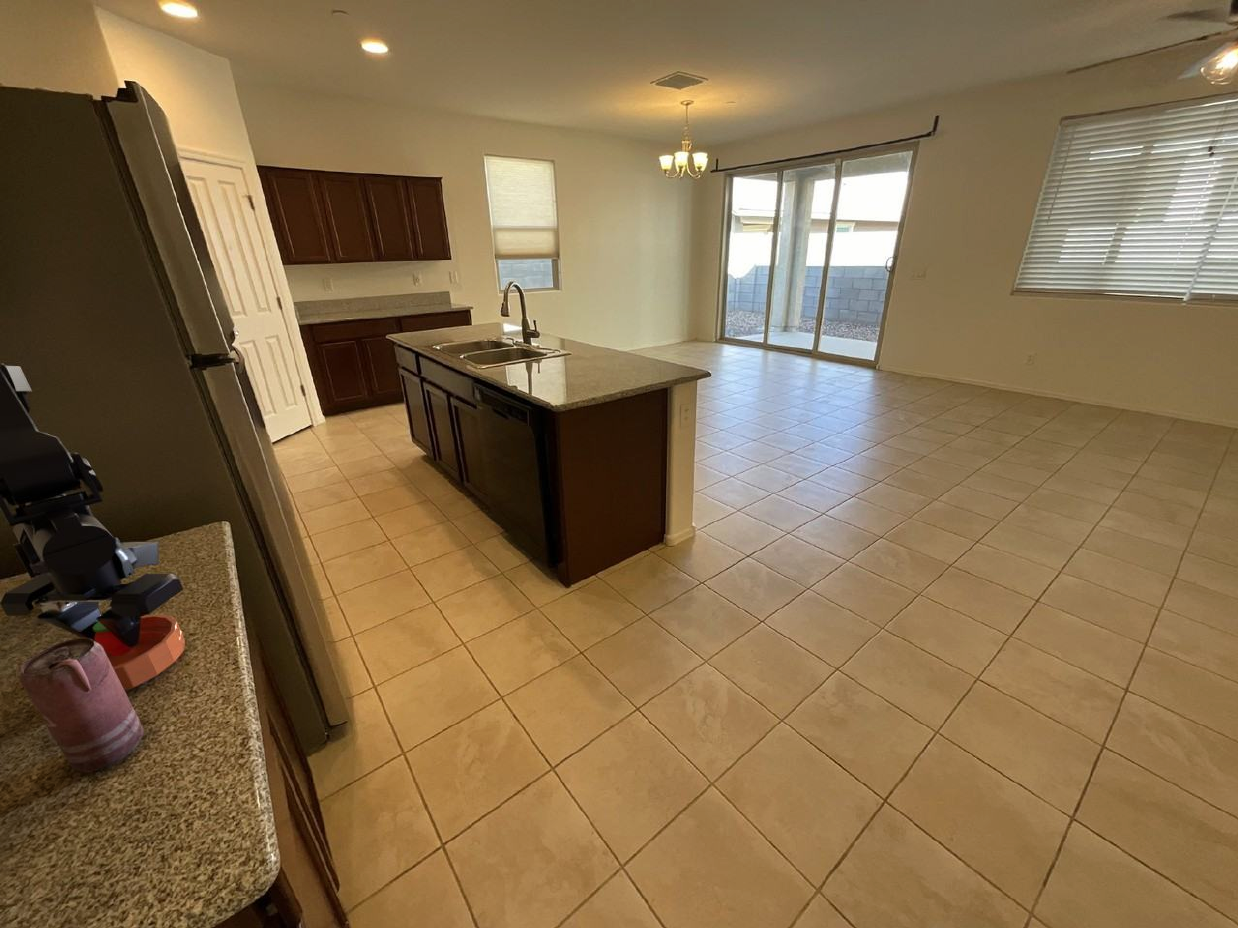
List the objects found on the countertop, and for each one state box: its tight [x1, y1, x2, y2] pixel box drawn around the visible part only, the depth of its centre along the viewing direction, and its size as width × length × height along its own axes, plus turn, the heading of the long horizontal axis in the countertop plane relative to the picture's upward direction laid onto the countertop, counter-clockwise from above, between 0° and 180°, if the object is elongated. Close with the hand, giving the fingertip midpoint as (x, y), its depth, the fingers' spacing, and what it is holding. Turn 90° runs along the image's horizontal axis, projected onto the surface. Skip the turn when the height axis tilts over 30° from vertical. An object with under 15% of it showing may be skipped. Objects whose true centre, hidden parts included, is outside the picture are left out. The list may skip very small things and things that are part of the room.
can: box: [18, 637, 145, 773], centre depth 55 cm, size 6×6×14 cm
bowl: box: [104, 613, 186, 692], centre depth 69 cm, size 12×12×4 cm
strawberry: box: [93, 622, 133, 656], centre depth 68 cm, size 4×4×5 cm
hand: (119, 645), depth 69 cm, fingers closed on strawberry, 4 cm apart
